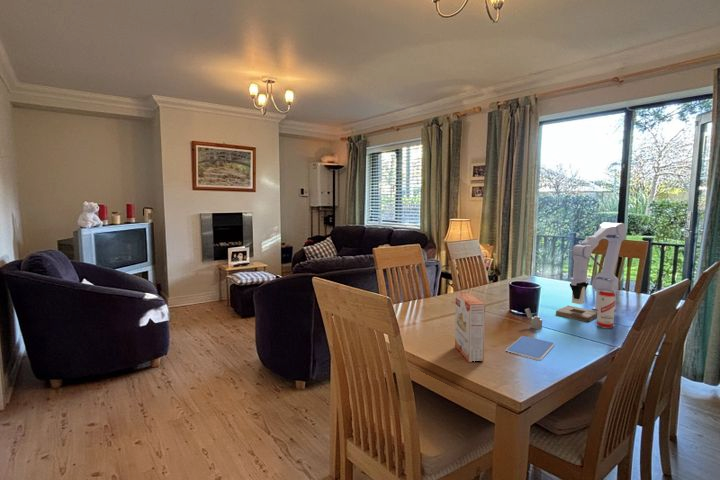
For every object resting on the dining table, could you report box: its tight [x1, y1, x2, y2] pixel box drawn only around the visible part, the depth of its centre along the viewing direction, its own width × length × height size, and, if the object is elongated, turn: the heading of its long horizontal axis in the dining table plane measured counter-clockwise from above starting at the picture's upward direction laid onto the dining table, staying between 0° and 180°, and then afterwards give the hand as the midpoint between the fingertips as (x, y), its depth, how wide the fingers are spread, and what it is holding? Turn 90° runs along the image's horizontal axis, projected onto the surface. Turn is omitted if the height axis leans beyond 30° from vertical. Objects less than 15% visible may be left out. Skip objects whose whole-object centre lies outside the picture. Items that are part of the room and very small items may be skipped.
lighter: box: [524, 307, 543, 331], centre depth 164 cm, size 7×2×8 cm, turn 42°
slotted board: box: [555, 305, 597, 323], centre depth 181 cm, size 14×14×2 cm
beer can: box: [596, 290, 616, 329], centre depth 164 cm, size 6×6×16 cm
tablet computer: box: [505, 335, 556, 361], centre depth 142 cm, size 19×13×1 cm, turn 139°
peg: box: [571, 287, 586, 305], centre depth 180 cm, size 4×4×8 cm
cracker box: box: [454, 293, 486, 363], centre depth 135 cm, size 14×6×21 cm, turn 5°
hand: (578, 297), depth 180 cm, fingers closed on peg, 4 cm apart
